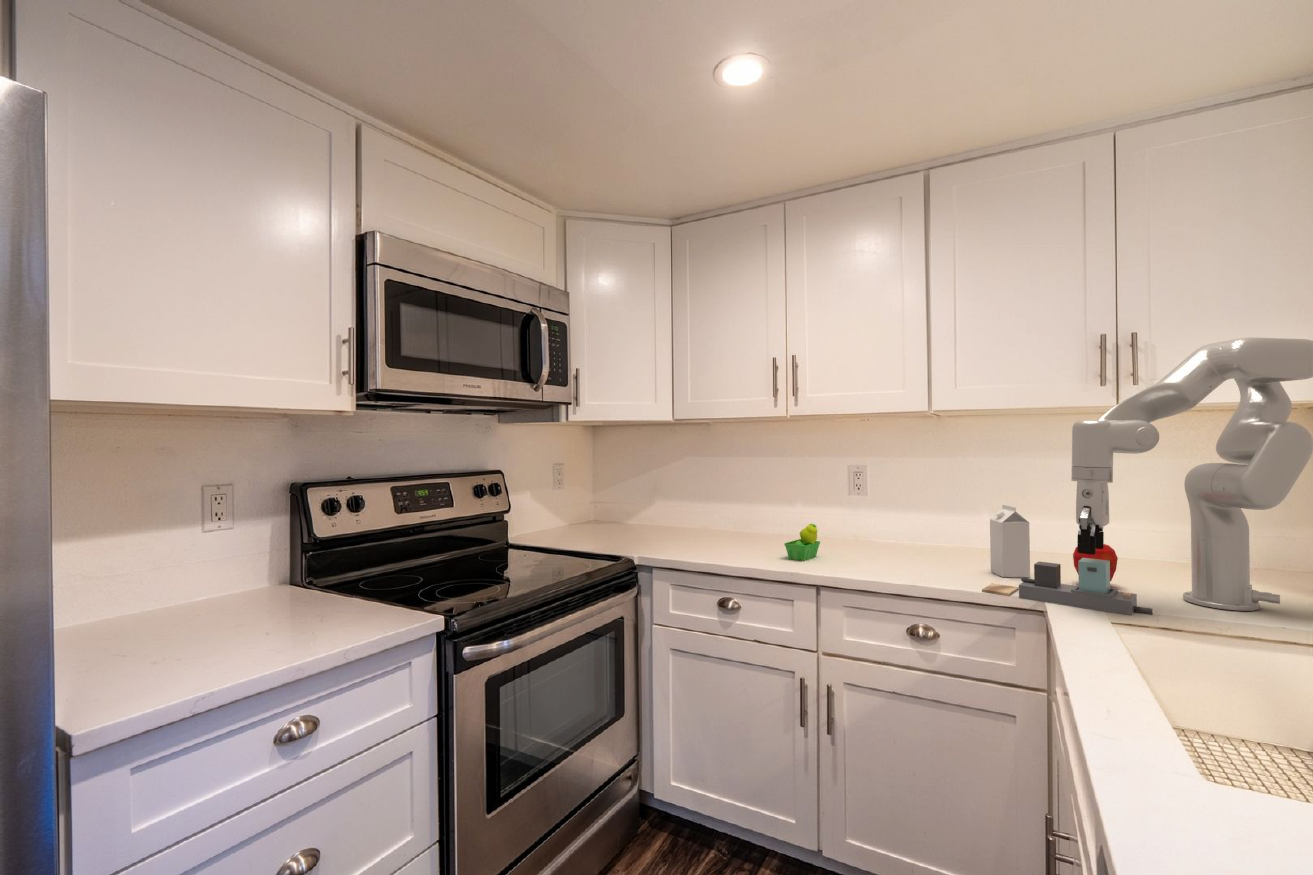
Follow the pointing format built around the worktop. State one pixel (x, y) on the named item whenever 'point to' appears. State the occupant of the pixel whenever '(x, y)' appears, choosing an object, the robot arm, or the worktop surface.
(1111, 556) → the apple
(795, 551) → the fruit basket
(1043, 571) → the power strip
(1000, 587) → the cork pad
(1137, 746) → the worktop surface
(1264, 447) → the robot arm
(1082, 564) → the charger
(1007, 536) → the milk carton
